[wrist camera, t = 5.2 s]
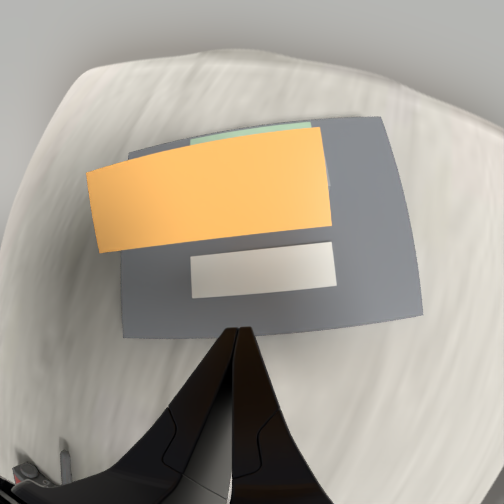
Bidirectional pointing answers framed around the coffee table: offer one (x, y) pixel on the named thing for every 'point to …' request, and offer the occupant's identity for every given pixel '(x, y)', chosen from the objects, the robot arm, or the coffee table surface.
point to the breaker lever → (212, 191)
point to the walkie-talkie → (32, 473)
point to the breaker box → (288, 254)
